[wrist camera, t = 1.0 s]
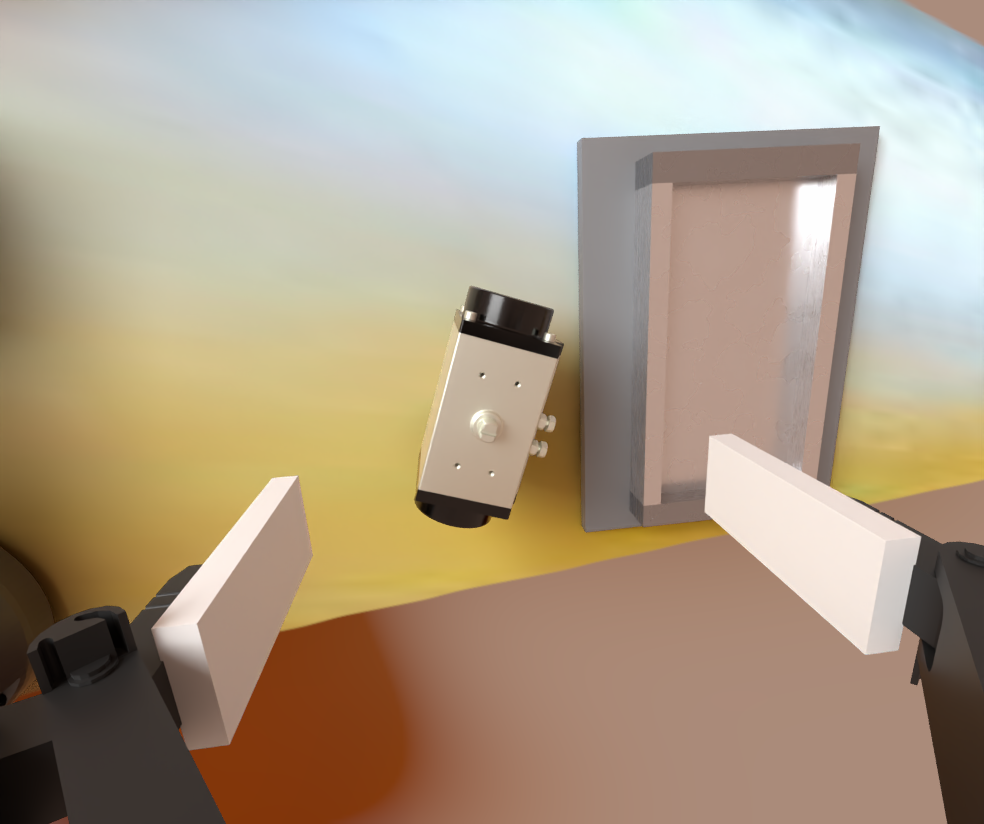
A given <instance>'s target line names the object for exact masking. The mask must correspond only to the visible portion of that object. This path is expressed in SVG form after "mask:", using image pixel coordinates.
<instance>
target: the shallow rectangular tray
mask: <svg viewBox="0 0 984 824" xmlns="http://www.w3.org/2000/svg"><path fill="white" fill-rule="evenodd" d="M860 144H861V143H853V144H830V145H807V146H784V147H761V148H738V149H715V150H692V151H669V152H653V153H651V154H649V155H647V156H645V157H644V158H642V159H640V160H638V161H636V166H635V222H634V279H633V335H632V391H631V447H630V504H629V511H630V512H631V513H632V514H633V515H634V517H635V518H636V519H637V520H638V522H639V523H640V524H641V525H642V526H643V527H649V526H658V525H667V524H676V523H685V522H694V521H702V520H711V519H712V518H711V517H710V516H709V515H708V514H706V513H705V497H706V482H707V466H708V450H709V436H713V435H723V434H733V435H735V436H737V437H739V438H741V439H742V440H744V441H746V442H748V443H750V444H752V445H753V446H755V447H757V448H759V449H761V450H763V451H764V452H766V453H768V454H770V455H772V456H774V457H776V458H777V459H779V460H781V461H783V462H785V463H787V464H788V465H790V466H792V467H794V468H796V469H798V470H799V471H801V472H803V473H805V474H807V475H809V476H811V477H812V478H814V479H816V480H817V472H818V465H819V457H820V449H821V442H822V434H823V426H824V419H825V411H826V403H827V396H828V388H829V381H830V373H831V365H832V358H833V350H834V342H835V335H836V327H837V319H838V312H839V304H840V297H841V289H842V281H843V274H844V266H845V258H846V251H847V243H848V236H849V228H850V220H851V213H852V205H853V197H854V190H855V182H856V174H857V167H858V159H859V152H860Z"/></svg>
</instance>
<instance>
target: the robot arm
mask: <svg viewBox="0 0 984 824" xmlns="http://www.w3.org/2000/svg"><path fill="white" fill-rule="evenodd" d="M705 513H706V514H708V515H709V516H710V517H711V518H712V519H713V520H714V521H715V522H717V523H718V524H719V525H720V526H721V527H722V528H723V529H724V530H726V531H727V532H728V533H729V534H730V535H731V536H732V537H734V538H735V539H736V540H737V541H738V542H739V543H741V545H742V546H744V547H745V548H746V549H747V550H748V551H749V552H750V553H751V554H753V555H754V556H755V557H756V558H757V559H758V560H759V561H760V562H762V563H763V564H764V565H765V566H766V567H767V568H768V569H770V571H772V572H773V573H774V574H775V575H776V576H777V577H779V578H780V579H781V580H782V581H783V582H784V583H785V584H786V585H787V586H789V587H790V588H791V589H792V590H793V591H794V592H795V593H796V594H798V595H799V596H800V597H801V598H802V599H803V600H804V601H805V602H807V603H808V604H809V605H810V606H811V607H812V608H813V609H814V610H815V611H817V612H818V613H819V614H820V615H821V616H822V617H823V618H825V619H826V620H827V621H828V622H829V623H830V624H831V625H832V626H833V627H835V628H836V629H837V630H838V631H839V632H840V633H841V634H842V635H844V636H845V637H846V638H847V639H848V640H849V641H850V642H851V643H853V644H854V645H855V646H856V647H857V648H858V649H859V650H860V651H862V652H863V653H864V654H865V655H869V654H876V653H883V652H890V651H897V650H899V645H900V640H901V635H902V630H903V625H904V626H905V627H907V628H908V629H909V630H911V631H912V632H913V633H915V634H916V635H917V636H919V637H920V640H919V645H918V650H917V654H916V659H915V664H914V668H913V673H912V678H911V684H914V685H917V684H918V681H919V679H921V680H922V686H923V691H924V697H925V703H926V708H927V714H928V719H929V725H930V730H931V736H932V742H933V747H934V753H935V757H936V764H937V769H938V774H939V780H940V786H941V791H942V797H943V802H944V808H945V813H946V819H947V824H984V546H983V545H979V544H974V543H966V542H947V543H945V544H941V543H939V542H937V541H935V540H934V539H931V538H930V537H928V536H926V535H924V534H922V533H920V532H919V531H916V530H915V529H913V528H911V527H909V526H907V525H906V524H904V523H902V522H900V521H895V520H894V518H892V517H891V516H889V515H887V514H885V513H882V512H881V513H880V512H879V510H877V509H876V508H874V507H872V506H870V505H868V504H866V503H864V502H863V501H860V500H857V499H854V498H851V497H848V496H846V495H844V494H842V493H840V492H838V491H836V490H834V489H833V488H831V487H829V486H827V485H825V484H823V483H822V482H820V481H818V480H816V479H814V478H812V477H811V476H809V475H807V474H805V473H803V472H801V471H799V470H798V469H796V468H794V467H792V466H790V465H788V464H787V463H785V462H783V461H781V460H779V459H777V458H776V457H774V456H772V455H770V454H768V453H766V452H764V451H763V450H761V449H759V448H757V447H755V446H753V445H752V444H750V443H748V442H746V441H744V440H742V439H741V438H739V437H737V436H735V435H733V434H723V435H713V436H709V450H708V466H707V482H706V497H705ZM312 556H313V554H312V548H311V543H310V537H309V532H308V526H307V521H306V515H305V510H304V505H303V499H302V494H301V488H300V483H299V477H298V476H289V477H278V478H272V479H271V480H270V482H269V483H268V484H267V485H266V486H265V488H264V489H263V490H262V491H261V493H260V494H259V495H258V496H257V498H256V499H255V500H254V501H253V503H252V504H251V505H250V506H249V508H248V509H247V510H246V511H245V513H244V514H243V515H242V516H241V518H240V519H239V520H238V521H237V523H236V524H235V525H234V526H233V528H232V529H231V530H230V531H229V533H228V534H227V535H226V536H225V538H224V539H223V540H222V541H221V543H220V544H219V545H218V546H217V548H216V549H215V550H214V551H213V552H212V554H211V555H210V556H209V557H208V559H207V560H206V561H205V562H204V564H202V565H193V566H188V567H187V568H186V569H184V570H183V571H181V572H180V573H178V574H177V575H175V576H174V577H172V578H171V579H169V580H168V582H167V583H166V584H165V585H164V586H163V587H162V588H161V590H160V591H159V592H158V593H157V594H156V597H154V598H153V599H152V600H151V601H150V602H149V603H148V604H147V606H146V609H145V610H142V611H141V612H140V614H139V615H138V616H137V617H136V618H135V619H134V621H133V622H132V623H131V624H129V620H128V617H127V614H126V611H125V610H123V609H122V608H120V607H116V606H103V607H98V608H92V609H88V610H86V611H83V612H80V613H77V614H74V615H71V616H69V617H67V618H65V619H63V620H61V621H59V622H57V623H55V624H54V619H53V614H52V611H51V607H50V605H49V602H48V600H47V598H46V596H45V594H44V592H43V590H42V589H41V587H40V585H39V584H38V582H37V581H36V580H35V578H34V577H33V576H32V575H31V573H30V572H29V571H28V570H27V569H26V568H25V567H24V566H23V565H22V564H21V563H20V562H19V561H18V560H17V559H15V558H14V557H13V556H12V555H11V554H9V553H8V552H7V551H5V550H4V549H2V548H1V547H0V824H49V823H52V822H54V821H57V820H59V819H61V818H64V817H66V816H68V820H69V824H226V823H225V821H224V819H223V817H222V815H221V813H220V811H219V809H218V807H217V805H216V803H215V801H214V799H213V797H212V795H211V793H210V791H209V789H208V788H207V785H206V783H205V782H204V780H203V778H202V776H201V774H200V772H199V770H198V768H197V766H196V764H195V762H194V760H193V758H192V756H191V754H190V752H189V750H195V749H203V748H209V747H216V746H224V745H229V744H230V742H231V740H232V738H233V735H234V733H235V731H236V728H237V726H238V724H239V722H240V720H241V717H242V715H243V713H244V710H245V708H246V706H247V704H248V701H249V699H250V697H251V695H252V692H253V690H254V688H255V685H256V683H257V681H258V679H259V676H260V674H261V672H262V670H263V667H264V665H265V663H266V660H267V658H268V656H269V653H270V651H271V649H272V647H273V645H274V642H275V640H276V638H277V635H278V633H279V631H280V629H281V626H282V624H283V622H284V620H285V617H286V615H287V613H288V610H289V608H290V606H291V604H292V601H293V599H294V597H295V594H296V592H297V590H298V588H299V585H300V583H301V581H302V579H303V576H304V574H305V572H306V569H307V567H308V565H309V563H310V560H311V558H312ZM36 679H37V681H38V684H39V687H40V689H41V692H42V694H40V695H37V696H34V697H31V698H28V699H25V700H22V701H18V702H15V703H13V702H14V701H15V700H16V699H17V698H18V697H19V696H20V695H21V694H22V693H23V692H24V691H25V690H26V689H27V688H28V687H29V686H30V685H31V684H32V683H33V682H34V681H35V680H36ZM180 727H181V730H182V734H183V737H184V740H185V742H184V740H183V738H182V736H181V735H180V732H179V728H180Z"/></svg>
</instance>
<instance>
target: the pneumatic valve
mask: <svg viewBox="0 0 984 824" xmlns="http://www.w3.org/2000/svg"><path fill="white" fill-rule="evenodd" d="M553 313H554V310H553V309H551V308H548V307H544V306H541V305H537V304H534V303H530V302H527V301H524V300H520V299H517V298H513V297H510V296H506V295H503V294H499V293H496V292H492V291H489V290H485V289H482V288H478V287H474V286H470V287H469V290H468V294H467V298H466V301H465V305H462V306H461V309H460V310H458V309H456V313H455V317H454V321H453V325H452V329H451V333H450V337H449V341H448V345H447V348H446V352H445V356H444V360H443V364H442V368H441V372H440V376H439V380H438V384H437V387H436V391H435V395H434V399H433V403H432V407H431V411H430V415H429V419H428V423H427V426H426V430H425V434H424V438H423V442H422V446H421V450H420V454H419V461H418V472H417V483H416V493H415V498H414V500H415V504H416V506H417V507H418V509H419V510H420V511H421V512H422V513H423V514H425V515H426V516H428V517H429V518H431V519H433V520H435V521H438V522H440V523H443V524H446V525H449V526H454V527H460V528H477V527H481V526H484V525H486V524H487V523H488V522H489V521H490V520H491V517H497V518H502V519H508V518H509V515H510V512H511V509H512V506H513V504H514V502H515V499H516V496H517V493H518V489H519V486H520V483H521V480H522V477H523V473H524V470H525V467H526V464H527V461H528V457H529V455H531V456H534V455H535V454H536V456H537V457H540V458H544V457H545V455H546V453H547V448H548V444H547V443H546V442H544V441H540V442H539V443H538V441H537V440H536V439H534V438H535V435H536V432H537V430H543V429H544V430H545V432H552V431H553V430H554V428H555V424H556V418H555V417H554V416H551V415H549V416H548V417H546V415H545V414H543V410H544V406H545V403H546V400H547V397H548V394H549V390H550V387H551V384H552V381H553V378H554V374H555V371H556V368H557V365H558V362H559V358H560V355H561V352H562V349H563V346H564V344H563V343H562V342H560V341H558V340H556V339H555V338H556V335H554V334H551V333H548V329H549V326H550V323H551V319H552V316H553Z"/></svg>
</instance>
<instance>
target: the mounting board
mask: <svg viewBox="0 0 984 824" xmlns="http://www.w3.org/2000/svg"><path fill="white" fill-rule="evenodd" d="M879 129H880V126H873V127H849V128H824V129H799V130H774V131H749V132H725V133H700V134H675V135H650V136H626V137H601V138H582V139H580V140H579V141H578V142H577V170H578V255H579V339H580V424H581V509H582V527H583V529H584V531H585V532H593V531H602V530H611V529H620V528H629V527H638V526H642V525H641V524H640V523H639V522H638V520H637V519H636V518H635V517H634V515H633V514H632V513H631V512H630V511H629V504H630V447H631V391H632V335H633V279H634V222H635V166H636V161H638V160H640V159H642V158H644V157H645V156H647V155H649V154H651V153H653V152H669V151H692V150H715V149H738V148H761V147H784V146H807V145H830V144H853V143H861V144H860V152H859V159H858V167H857V174H856V182H855V190H854V197H853V205H852V213H851V220H850V228H849V236H848V243H847V251H846V258H845V266H844V274H843V281H842V289H841V297H840V304H839V312H838V319H837V327H836V335H835V342H834V350H833V358H832V365H831V373H830V381H829V388H828V396H827V403H826V411H825V419H824V426H823V434H822V442H821V449H820V457H819V465H818V472H817V480H818V481H820V482H822V483H823V484H825V485H827V486H829V487H830V481H831V473H832V466H833V459H834V452H835V445H836V438H837V430H838V423H839V416H840V409H841V402H842V395H843V387H844V380H845V373H846V366H847V359H848V352H849V344H850V337H851V330H852V323H853V316H854V309H855V301H856V294H857V287H858V280H859V273H860V266H861V258H862V251H863V244H864V237H865V230H866V223H867V215H868V208H869V201H870V194H871V187H872V180H873V172H874V165H875V158H876V151H877V144H878V137H879Z"/></svg>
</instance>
